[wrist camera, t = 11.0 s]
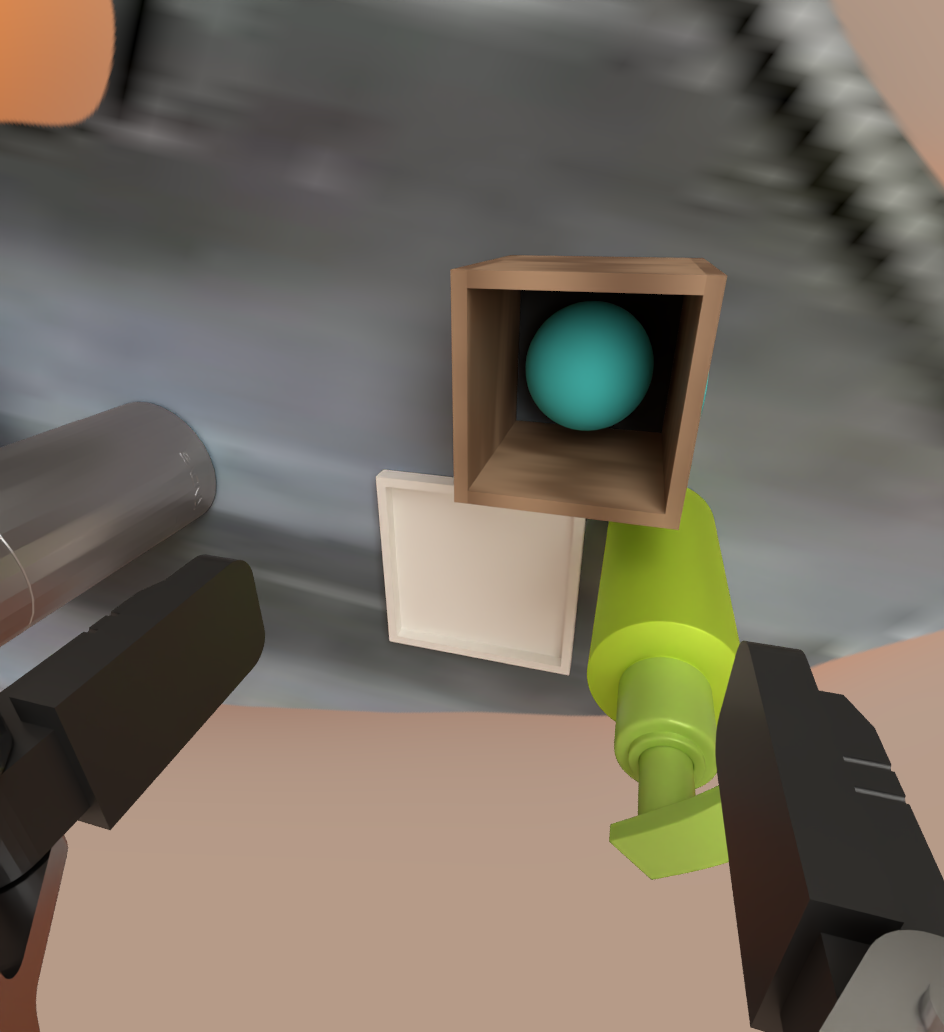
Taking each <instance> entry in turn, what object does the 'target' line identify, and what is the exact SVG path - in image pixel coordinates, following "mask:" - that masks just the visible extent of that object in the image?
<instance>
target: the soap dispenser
mask: <svg viewBox="0 0 944 1032" xmlns="http://www.w3.org/2000/svg"><path fill="white" fill-rule="evenodd" d="M739 645H740V643H739V638H738V633H737V628H736V623H735V619H734V614H733V609H732V604H731V599H730V594H729V589H728V584H727V580H726V575H725V570H724V565H723V560H722V555H721V550H720V546H719V541H718V536H717V531H716V526H715V521H714V517H713V514H712V512H711V510H710V508H709V506H708V505H707V503H706V502H705V501H704V500H703V499H702V498H701V497H700V496H699V495H698V494H697V493H695V492H694V491H692V490H690V489H688V488H687V489H686V495H685V500H684V505H683V510H682V516H681V521H680V526H679V530H675V529H666V528H658V527H650V526H642V525H634V524H626V523H618V522H610V521H609V524H608V531H607V538H606V544H605V551H604V558H603V565H602V572H601V579H600V585H599V592H598V599H597V606H596V613H595V619H594V626H593V633H592V640H591V647H590V654H589V660H588V667H587V680H588V685H589V689H590V692H591V694H592V696H593V698H594V700H595V701H596V703H597V704H598V706H599V707H600V708H601V709H602V710H603V711H604V712H605V713H606V714H607V715H608V716H609V717H610V718H611V719H613V720H614V721H615V722H616V726H615V739H614V750H615V756H616V759H617V761H618V763H619V765H620V766H621V768H622V769H623V770H624V771H625V772H626V773H627V774H628V775H629V776H630V777H632V778H633V779H634V780H636V781H637V782H639V790H638V791H639V792H638V816H635V817H632V818H629V819H626V820H623V821H620V822H616V823H613V824H611V825H610V837H609V842H610V843H611V844H613V845H614V846H615V847H616V848H617V849H618V850H619V851H620V852H621V853H622V854H624V855H625V856H626V857H627V858H628V859H629V860H630V861H631V862H632V863H634V864H635V865H636V866H637V867H638V868H639V869H640V870H641V871H642V872H644V873H645V874H646V875H647V876H648V877H649V878H650V879H652V880H653V879H659V878H663V877H669V876H674V875H679V874H683V873H688V872H693V871H698V870H702V869H706V868H710V867H713V866H717V865H721V864H724V863H727V862H729V859H728V852H727V844H726V836H725V829H724V821H723V813H722V806H721V798H720V790H719V785H718V786H716V787H714V788H712V789H710V790H708V791H705V792H703V793H701V794H698V795H696V796H695V789H697V788H699V787H701V786H703V785H705V784H706V783H708V782H709V781H710V780H711V779H712V778H713V777H714V776H715V775H716V773H717V767H716V756H715V743H716V730H717V724H718V719H719V715H720V711H721V707H722V704H723V700H724V696H725V692H726V689H727V685H728V681H729V678H730V674H731V670H732V667H733V663H734V659H735V656H736V652H737V649H738V647H739Z"/></svg>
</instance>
